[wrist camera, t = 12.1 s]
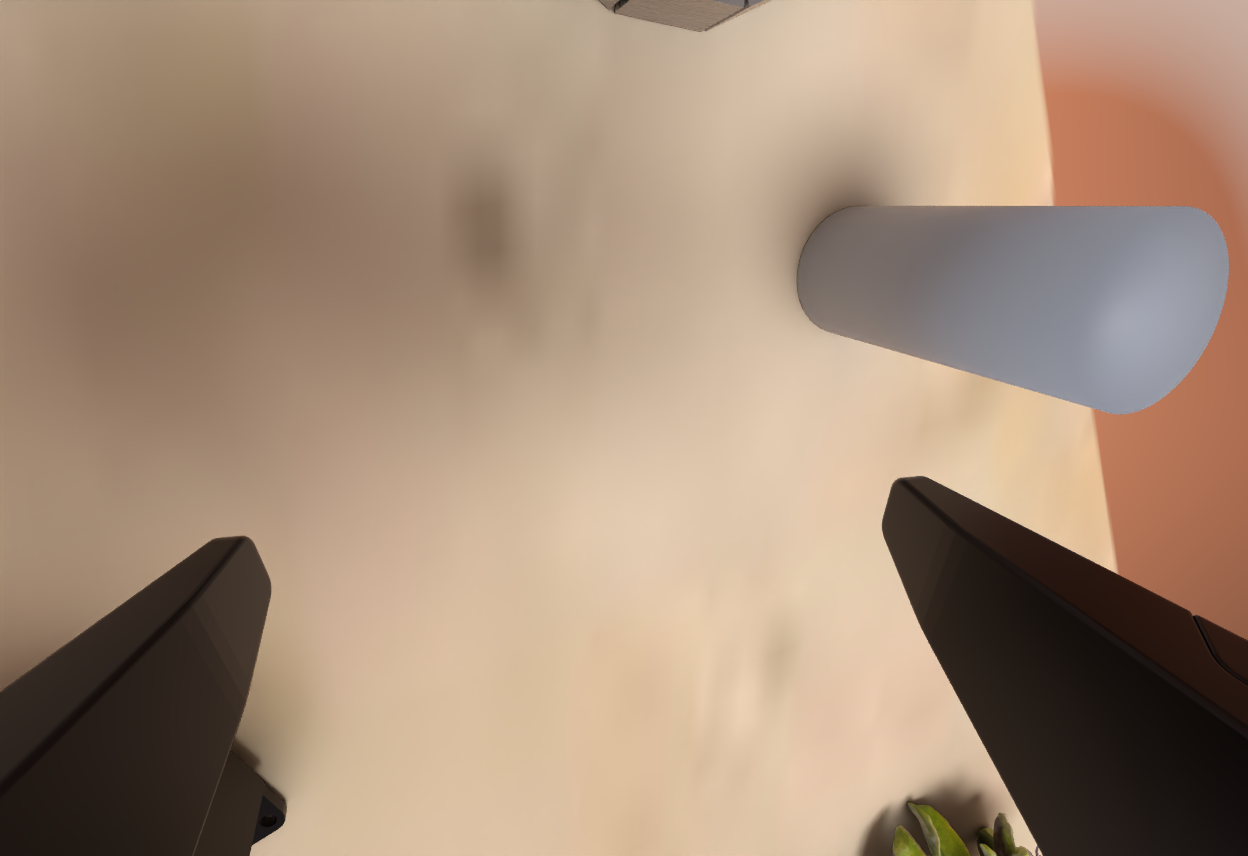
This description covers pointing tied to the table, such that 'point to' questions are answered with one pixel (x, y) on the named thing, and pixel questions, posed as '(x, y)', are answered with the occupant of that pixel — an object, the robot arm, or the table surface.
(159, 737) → the robot arm
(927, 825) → the green succulent plant
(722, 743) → the table surface
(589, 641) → the table surface
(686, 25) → the steel ring
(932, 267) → the slate-blue peg
